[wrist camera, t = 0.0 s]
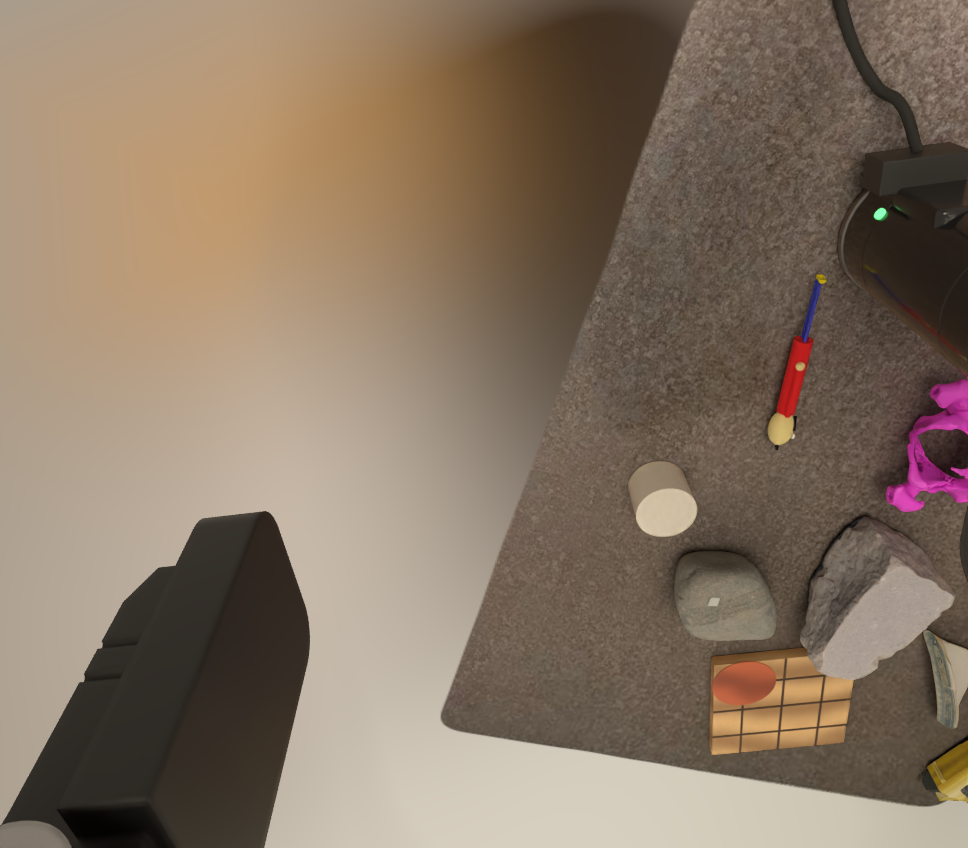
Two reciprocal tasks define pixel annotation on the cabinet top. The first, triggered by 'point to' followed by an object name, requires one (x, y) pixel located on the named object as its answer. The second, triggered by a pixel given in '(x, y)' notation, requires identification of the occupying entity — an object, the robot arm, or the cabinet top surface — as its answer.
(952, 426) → the pelvis
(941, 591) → the decorative stone
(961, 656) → the ceramic fragment
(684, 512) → the cream short cylinder
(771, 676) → the board
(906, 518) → the cabinet top surface
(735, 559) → the stone
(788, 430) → the red screwdriver
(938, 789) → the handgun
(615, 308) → the cabinet top surface
